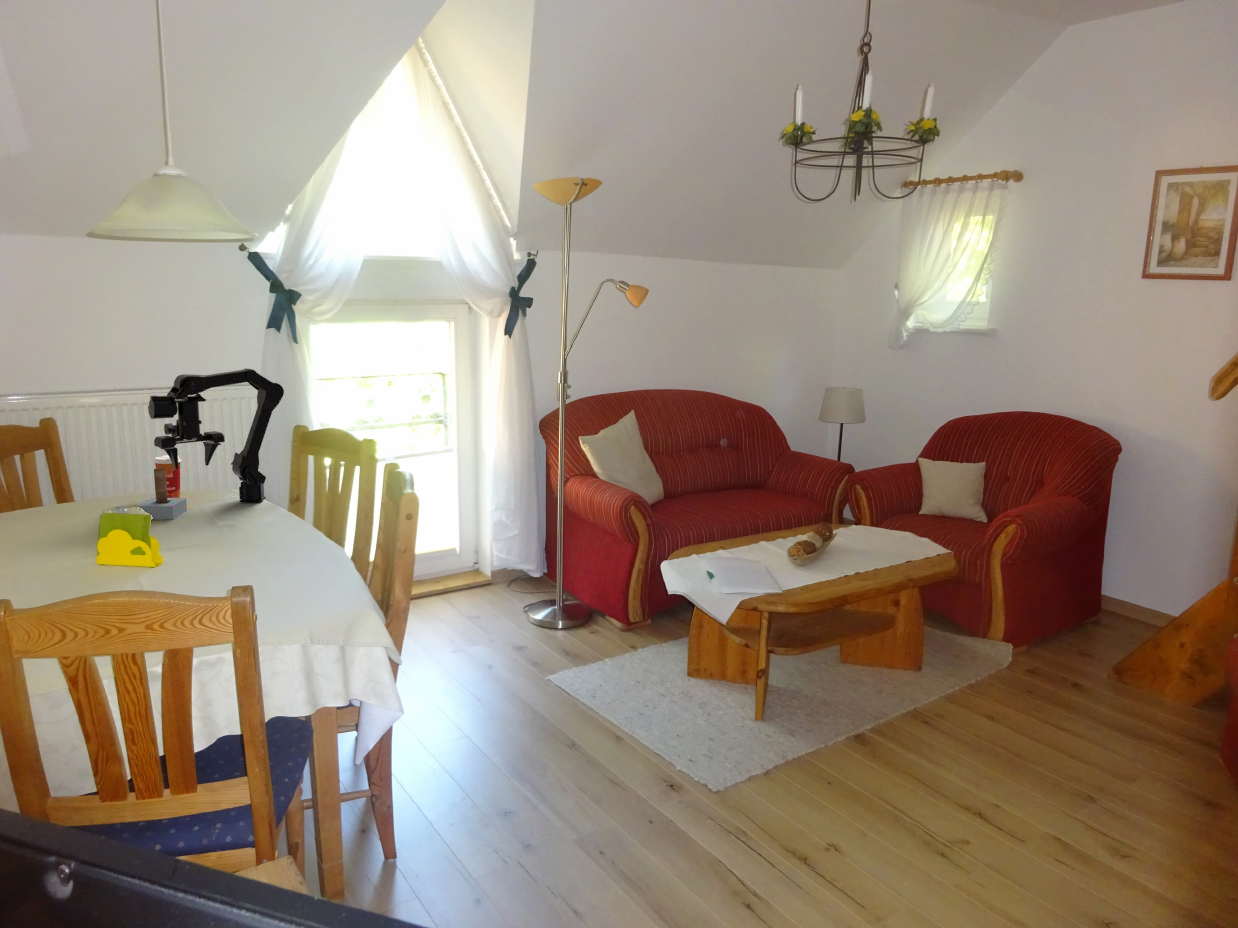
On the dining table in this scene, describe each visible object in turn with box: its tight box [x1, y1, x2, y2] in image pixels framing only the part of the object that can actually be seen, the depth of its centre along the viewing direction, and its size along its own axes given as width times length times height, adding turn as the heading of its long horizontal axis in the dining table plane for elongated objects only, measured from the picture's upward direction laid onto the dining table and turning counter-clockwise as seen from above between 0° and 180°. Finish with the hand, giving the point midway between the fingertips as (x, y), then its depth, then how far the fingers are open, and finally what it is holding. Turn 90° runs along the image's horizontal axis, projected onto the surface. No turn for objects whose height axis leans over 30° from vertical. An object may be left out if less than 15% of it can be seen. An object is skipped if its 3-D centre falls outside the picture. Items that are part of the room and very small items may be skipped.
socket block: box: [136, 497, 188, 521], centre depth 251 cm, size 10×10×4 cm
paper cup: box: [153, 454, 182, 498], centre depth 267 cm, size 8×8×14 cm
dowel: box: [153, 467, 168, 504], centre depth 250 cm, size 3×3×13 cm
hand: (191, 467), depth 258 cm, fingers open, 9 cm apart
